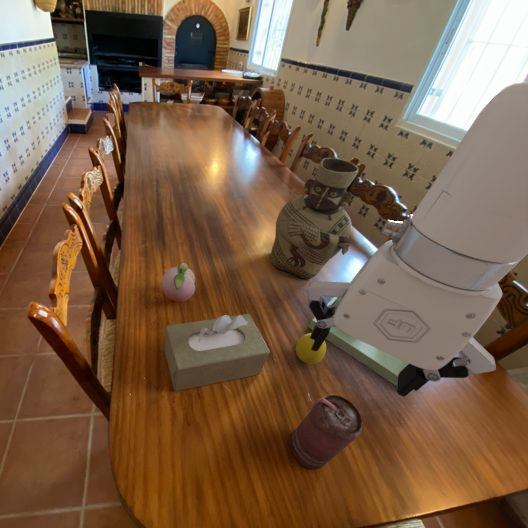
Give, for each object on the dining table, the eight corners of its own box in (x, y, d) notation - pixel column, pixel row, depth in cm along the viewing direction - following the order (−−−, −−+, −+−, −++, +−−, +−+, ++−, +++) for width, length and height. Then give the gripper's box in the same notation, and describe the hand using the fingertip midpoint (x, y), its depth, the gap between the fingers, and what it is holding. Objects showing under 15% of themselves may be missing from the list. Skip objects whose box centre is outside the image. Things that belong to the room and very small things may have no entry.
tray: (430, 340, 71) (437, 333, 69) (406, 392, 60) (413, 386, 58) (342, 290, 82) (346, 283, 81) (308, 326, 72) (312, 320, 70)
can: (292, 422, 54) (321, 383, 45) (328, 443, 52) (367, 406, 43) (283, 454, 50) (313, 418, 41) (322, 478, 47) (363, 446, 39)
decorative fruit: (162, 284, 79) (164, 254, 73) (192, 286, 79) (197, 257, 73) (159, 310, 72) (160, 280, 66) (192, 313, 72) (197, 283, 66)
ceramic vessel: (300, 293, 80) (349, 191, 61) (253, 249, 94) (280, 155, 75) (347, 276, 88) (405, 180, 68) (297, 237, 102) (332, 149, 82)
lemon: (291, 367, 63) (304, 344, 58) (290, 345, 67) (302, 323, 62) (318, 374, 62) (334, 352, 57) (315, 352, 66) (330, 329, 61)
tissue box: (172, 392, 57) (178, 343, 47) (162, 349, 64) (165, 298, 54) (261, 374, 61) (284, 325, 51) (242, 335, 68) (259, 286, 58)
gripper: (333, 235, 26) (278, 348, 37) (607, 331, 19) (440, 435, 30) (348, 204, 31) (295, 311, 42) (570, 271, 24) (438, 379, 35)
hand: (356, 363), depth 36 cm, fingers open, 9 cm apart
